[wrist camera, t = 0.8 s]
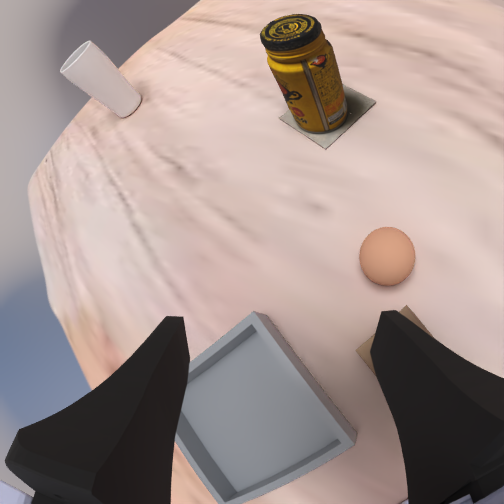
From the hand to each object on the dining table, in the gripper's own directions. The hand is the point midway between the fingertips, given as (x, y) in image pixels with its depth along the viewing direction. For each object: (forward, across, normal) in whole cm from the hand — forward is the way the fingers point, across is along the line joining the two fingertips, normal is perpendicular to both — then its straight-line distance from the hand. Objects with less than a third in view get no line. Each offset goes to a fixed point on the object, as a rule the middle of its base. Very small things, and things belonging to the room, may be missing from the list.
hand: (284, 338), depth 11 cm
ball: (+12, -10, +4) cm, 16 cm away
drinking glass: (+44, +21, -11) cm, 50 cm away
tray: (+7, +1, +16) cm, 17 cm away
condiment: (+25, -8, -8) cm, 28 cm away
